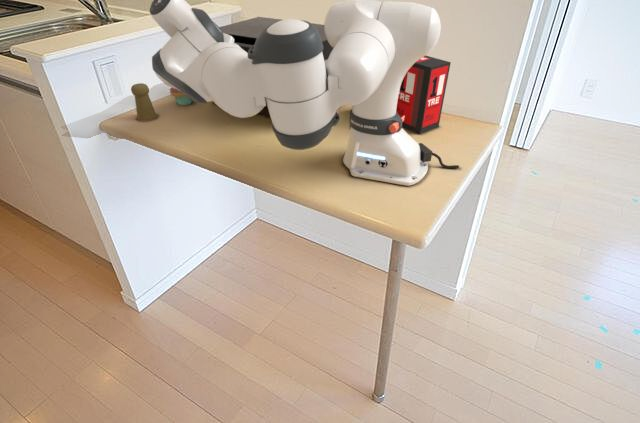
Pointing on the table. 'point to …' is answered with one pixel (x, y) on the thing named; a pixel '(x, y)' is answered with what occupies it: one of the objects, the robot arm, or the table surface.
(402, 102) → the cleaning product box
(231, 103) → the robot arm
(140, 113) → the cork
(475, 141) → the table surface
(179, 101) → the cupcake
